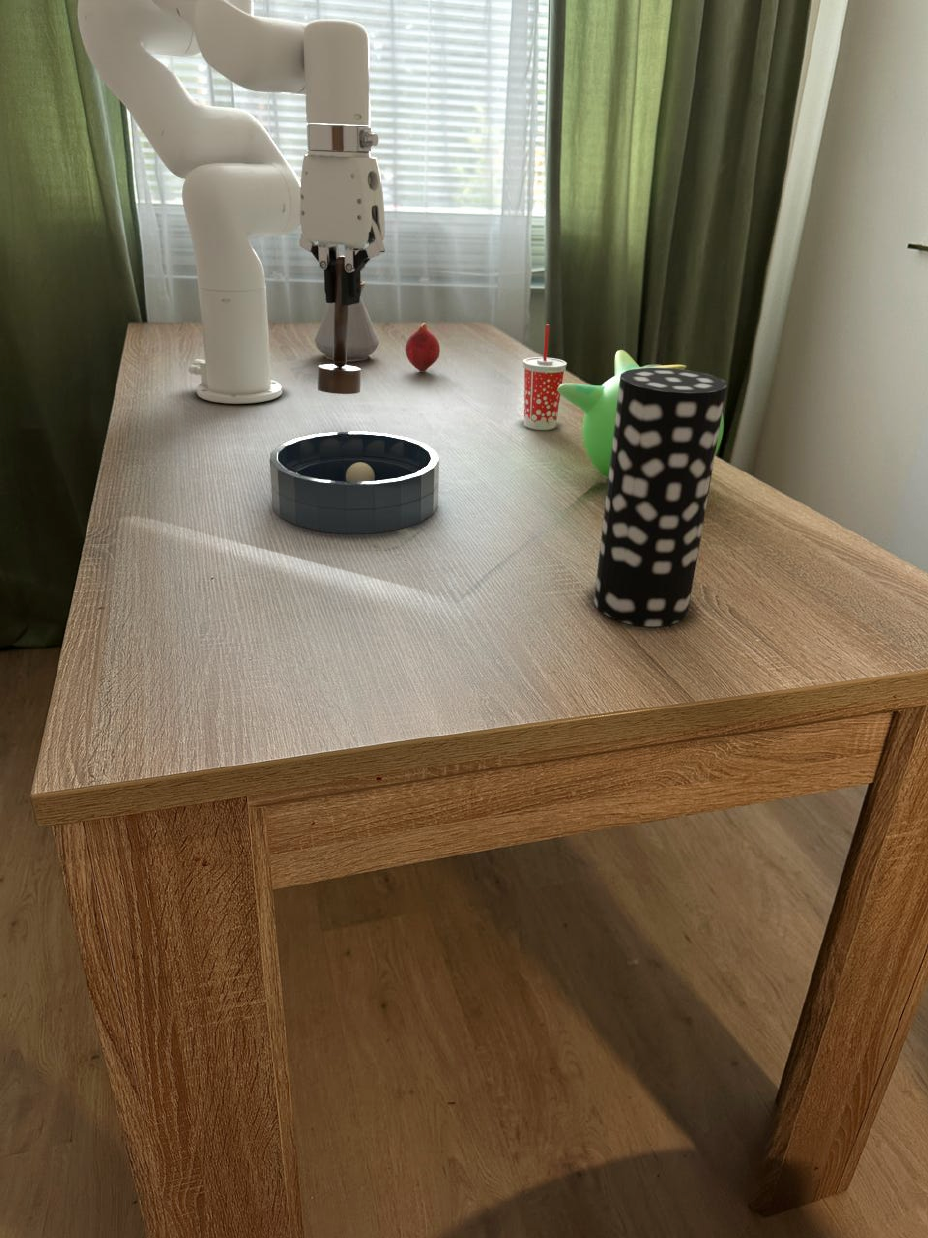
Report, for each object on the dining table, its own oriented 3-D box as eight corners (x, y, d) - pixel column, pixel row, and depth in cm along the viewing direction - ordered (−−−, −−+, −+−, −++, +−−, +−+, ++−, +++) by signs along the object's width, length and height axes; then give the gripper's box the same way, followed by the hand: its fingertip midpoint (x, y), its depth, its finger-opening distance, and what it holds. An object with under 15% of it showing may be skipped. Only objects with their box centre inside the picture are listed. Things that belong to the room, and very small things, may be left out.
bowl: (238, 518, 96) (234, 463, 94) (334, 472, 110) (332, 423, 108) (382, 554, 90) (382, 496, 87) (464, 500, 104) (466, 449, 101)
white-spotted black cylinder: (585, 584, 85) (609, 366, 76) (672, 584, 86) (707, 368, 77) (605, 627, 78) (634, 391, 69) (700, 626, 79) (742, 393, 70)
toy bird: (681, 520, 101) (702, 386, 94) (544, 487, 108) (555, 361, 102) (731, 477, 114) (753, 357, 108) (607, 451, 122) (620, 337, 115)
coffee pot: (386, 362, 163) (386, 273, 156) (322, 365, 160) (319, 273, 153) (357, 338, 181) (356, 257, 174) (299, 340, 177) (295, 257, 170)
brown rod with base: (310, 389, 121) (312, 253, 115) (330, 385, 126) (333, 254, 120) (348, 395, 120) (352, 257, 113) (367, 390, 125) (372, 257, 118)
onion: (434, 376, 156) (435, 327, 152) (401, 373, 157) (402, 325, 153) (442, 369, 161) (443, 321, 157) (410, 366, 162) (410, 319, 158)
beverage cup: (569, 426, 132) (579, 325, 126) (543, 434, 128) (551, 330, 122) (536, 416, 136) (544, 318, 129) (509, 424, 132) (516, 323, 125)
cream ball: (348, 466, 104) (346, 456, 101) (377, 469, 104) (375, 459, 101) (345, 493, 103) (342, 484, 100) (373, 496, 103) (372, 487, 100)
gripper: (411, 145, 110) (410, 305, 119) (303, 140, 117) (309, 293, 125) (378, 144, 104) (379, 313, 113) (266, 139, 111) (275, 300, 119)
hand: (342, 301), depth 119 cm, fingers closed on brown rod with base
